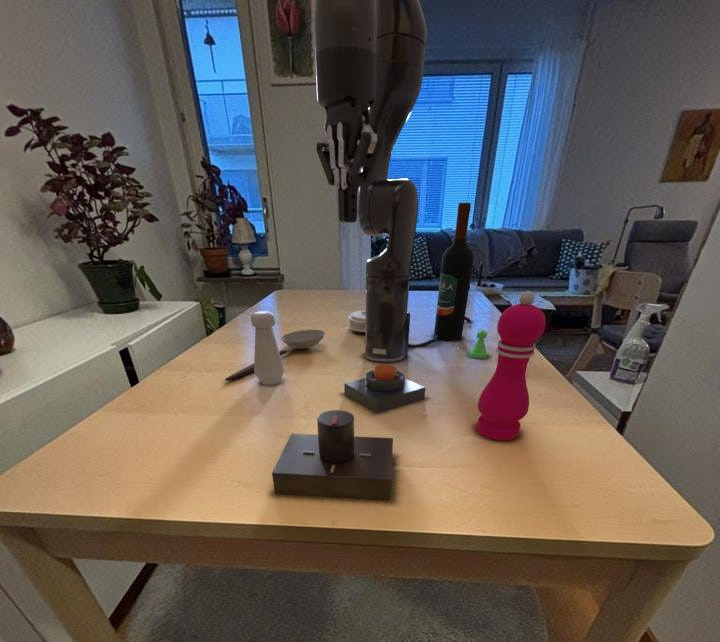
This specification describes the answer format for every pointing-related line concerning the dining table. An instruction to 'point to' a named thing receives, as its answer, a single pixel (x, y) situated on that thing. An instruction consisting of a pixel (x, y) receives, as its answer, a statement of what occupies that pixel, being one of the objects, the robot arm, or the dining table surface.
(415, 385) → the button block
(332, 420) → the dial
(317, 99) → the robot arm
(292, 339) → the spoon
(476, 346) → the game piece
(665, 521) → the dining table surface
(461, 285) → the wine bottle
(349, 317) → the lid
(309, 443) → the dial panel
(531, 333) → the pepper mill
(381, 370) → the button
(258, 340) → the salt shaker
